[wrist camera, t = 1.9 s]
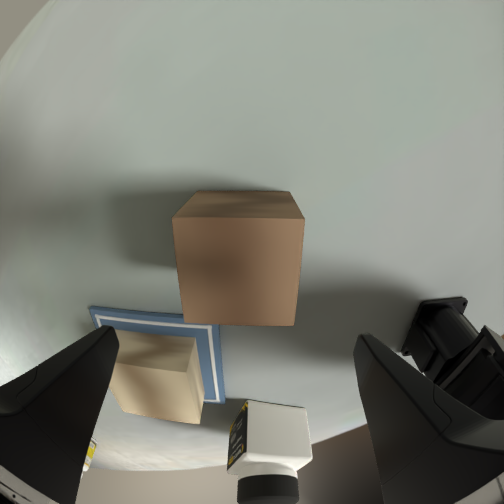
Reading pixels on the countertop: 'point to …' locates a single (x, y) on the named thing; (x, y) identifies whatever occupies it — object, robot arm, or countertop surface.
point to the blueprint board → (174, 326)
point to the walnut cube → (239, 257)
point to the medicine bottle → (268, 452)
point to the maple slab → (158, 376)
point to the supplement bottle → (89, 454)
